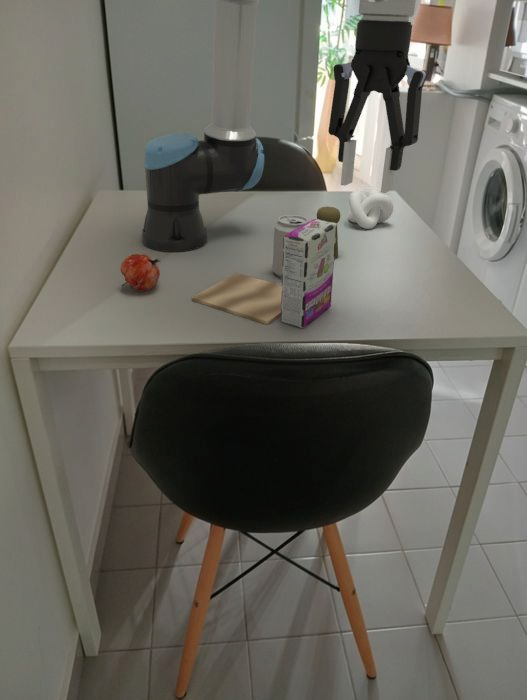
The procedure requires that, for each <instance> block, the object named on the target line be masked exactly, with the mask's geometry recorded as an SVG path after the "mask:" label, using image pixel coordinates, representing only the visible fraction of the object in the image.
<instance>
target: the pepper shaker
mask: <svg viewBox="0 0 527 700" xmlns="http://www.w3.org/2000/svg"><path fill="white" fill-rule="evenodd" d="M316 219H320V220H324V221H328V222H333V223H337V224H338V223H339V222H340V219H341V212H340V209H338V208H336V207H333V206H322V207H320V208H319V209H318V210H317V212H316ZM338 237H339V236H338V228H337V229H336V243H335V256H334V261H335V260H336V259H338V258H339V242H338V241H339V240H338V239H339V238H338Z"/></svg>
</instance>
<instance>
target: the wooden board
mask: <svg viewBox="0 0 527 700" xmlns="http://www.w3.org/2000/svg"><path fill="white" fill-rule="evenodd" d="M191 301H192V302H194V303H195V302H196V303H199V304H201V305H204V306H208V307H211V308H214V309H217V310H220V311H223V312H227V313H230V314H232V315H235V316H239V317H241V318H242V317H243V318H245V319H249V320H251V321H255V322H257V323H261V324H264V325H270V324H271V323H272V322H274V320H276V319H278V318H280V317H281V301H282V284H281V285H280V284H278V283H277V284H276V283H275V282H270V281H267V280H264V279H260V278H256V277H252V276H248V275H246V274H242V273H238V272H236V273H234V274H232V275H230V276H228V277H227V278H225V279H223V280H221V281H219V282H217V283H215V284H213V285H212V286H210V287H208V288H207V289H203V291H201V292H199V293H198V294H196V295H193V296H192V297H191Z"/></svg>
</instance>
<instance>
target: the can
mask: <svg viewBox="0 0 527 700" xmlns="http://www.w3.org/2000/svg"><path fill="white" fill-rule="evenodd" d="M309 221H310V220H309V218H308V217H306V216H303V215H300V214H299V215H298V214H285V215H281V216H279V217H277V222H276V223H275V224H274V227H273V228H274V230H273V251H272V253H273V254H272V271H273V273H274V274H275V275H276V276H277V277H279V278H281V279H282V269H283V238H284V237H283V236H284V235H286V234H288V233H289V232H291V231H293V230H295V229H297V228H299V227H300V226H302V225H304V224H306V223H308V222H309Z"/></svg>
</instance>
